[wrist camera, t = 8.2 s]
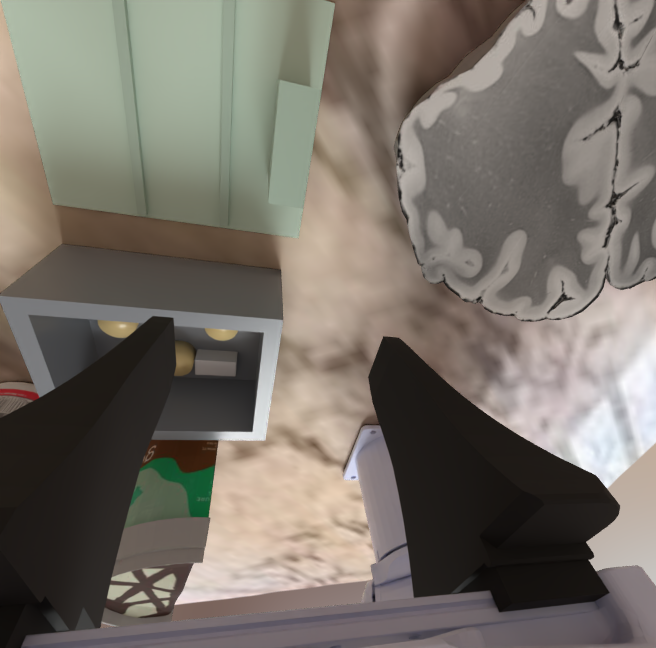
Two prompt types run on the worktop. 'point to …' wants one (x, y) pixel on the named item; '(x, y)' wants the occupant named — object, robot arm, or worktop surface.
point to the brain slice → (539, 161)
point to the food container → (162, 531)
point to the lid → (176, 105)
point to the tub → (165, 301)
